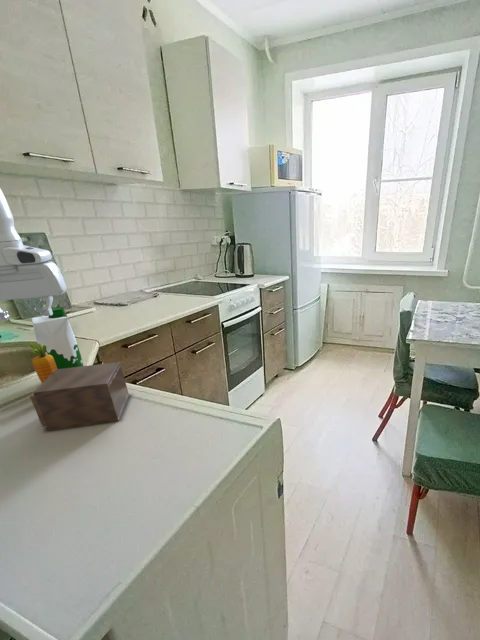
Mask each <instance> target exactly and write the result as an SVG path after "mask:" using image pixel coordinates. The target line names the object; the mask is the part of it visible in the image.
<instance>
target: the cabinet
mask: <svg viewBox="0 0 480 640" xmlns="http://www.w3.org/2000/svg"><path fill="white" fill-rule="evenodd" d="M32 393H33V394H34V396H35V399H36V401H37V404H38V406H39V408H40V411H41V413H42V416H43V418H44V420H45V423H46V425H47V427H46V428H47V430H48V431H49V432H51V431H58V430H64V429H65V430H66V429H73V428H79V427H86V426H92V425H93V426H94V425H100V424H108V423H114V422H119V421H120V419H121V416H122V414H123V412H124V409H125V407H126V405H127V403H128V400H129V398H130V394H129V390H128V386H127V383H126V378H125V375H124V372H123V369H122V364H121V362H120V361H116V362H108V363H99V364H91V365H83V366H81V367H72V368H64V369H56V370H55V371H54V372H53V373H52V374H51V375H50V376H49V377H48V378H47V379H46V380H45V381H44V382H43V383H42V382H41V384H40V385H39V386H38V387H37V388H35V390H34V391H33V392H32Z"/></svg>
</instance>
